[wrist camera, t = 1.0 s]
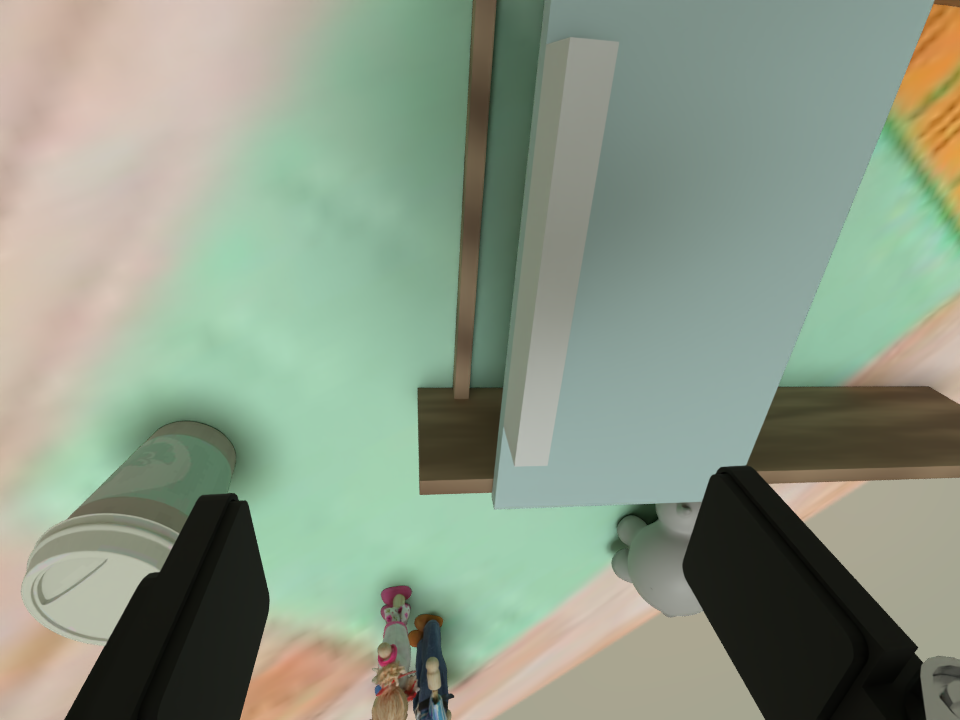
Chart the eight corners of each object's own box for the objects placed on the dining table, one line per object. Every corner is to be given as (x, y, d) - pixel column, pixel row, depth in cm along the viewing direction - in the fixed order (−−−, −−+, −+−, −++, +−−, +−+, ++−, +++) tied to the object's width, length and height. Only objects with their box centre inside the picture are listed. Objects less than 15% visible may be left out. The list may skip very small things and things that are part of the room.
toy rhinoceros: (694, 453, 46) (766, 487, 38) (668, 579, 47) (733, 638, 39) (624, 445, 44) (682, 478, 36) (598, 575, 45) (650, 636, 37)
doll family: (375, 569, 44) (363, 738, 33) (482, 566, 46) (507, 727, 34) (375, 705, 54) (365, 871, 43) (463, 698, 56) (477, 858, 44)
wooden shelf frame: (424, -84, 24) (431, -178, 15) (1144, 7, 30) (1439, -25, 21) (417, 399, 36) (419, 494, 28) (922, 396, 42) (1051, 474, 34)
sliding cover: (561, -163, 16) (605, -234, 12) (951, -103, 18) (1086, -150, 14) (491, 496, 28) (503, 554, 25) (722, 488, 30) (763, 541, 27)
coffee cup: (236, 397, 35) (160, 532, 24) (269, 490, 39) (216, 640, 28) (106, 411, 34) (-30, 557, 23) (153, 505, 38) (56, 664, 28)
